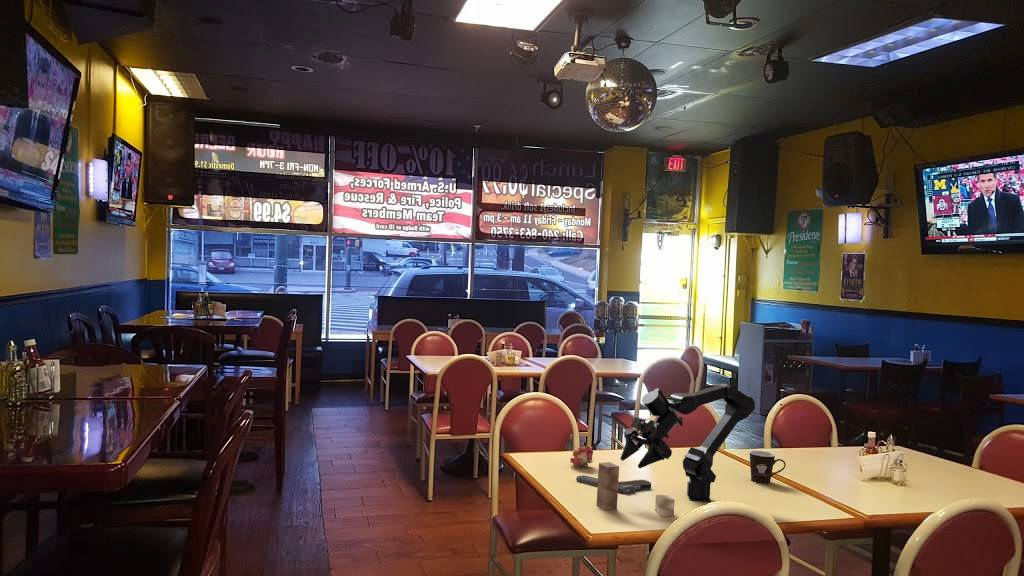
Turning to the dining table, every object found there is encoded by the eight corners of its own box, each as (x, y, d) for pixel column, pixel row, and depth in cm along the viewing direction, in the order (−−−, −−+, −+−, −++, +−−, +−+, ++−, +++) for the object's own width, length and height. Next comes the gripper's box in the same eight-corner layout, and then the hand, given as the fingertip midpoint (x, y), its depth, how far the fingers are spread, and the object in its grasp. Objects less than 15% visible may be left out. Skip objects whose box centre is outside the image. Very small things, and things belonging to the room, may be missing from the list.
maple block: (669, 511, 220) (670, 495, 220) (673, 516, 215) (674, 499, 215) (654, 511, 219) (655, 494, 219) (659, 516, 215) (660, 499, 215)
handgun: (597, 468, 258) (575, 475, 247) (653, 481, 244) (632, 488, 233) (597, 476, 258) (574, 483, 247) (653, 489, 244) (632, 497, 233)
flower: (603, 463, 267) (594, 443, 271) (592, 462, 260) (583, 441, 263) (581, 474, 271) (573, 454, 274) (570, 474, 263) (561, 453, 266)
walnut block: (607, 504, 223) (610, 462, 223) (616, 509, 218) (619, 466, 218) (596, 505, 221) (598, 462, 221) (605, 510, 217) (607, 467, 217)
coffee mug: (743, 480, 260) (745, 452, 260) (754, 476, 266) (755, 449, 266) (775, 488, 252) (777, 459, 252) (785, 484, 258) (787, 456, 258)
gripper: (630, 403, 233) (598, 438, 229) (666, 414, 217) (633, 453, 212) (648, 426, 237) (618, 462, 232) (685, 439, 220) (653, 478, 215)
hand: (629, 463), depth 223 cm, fingers open, 9 cm apart
